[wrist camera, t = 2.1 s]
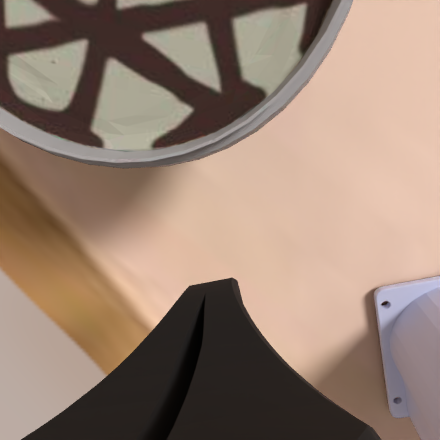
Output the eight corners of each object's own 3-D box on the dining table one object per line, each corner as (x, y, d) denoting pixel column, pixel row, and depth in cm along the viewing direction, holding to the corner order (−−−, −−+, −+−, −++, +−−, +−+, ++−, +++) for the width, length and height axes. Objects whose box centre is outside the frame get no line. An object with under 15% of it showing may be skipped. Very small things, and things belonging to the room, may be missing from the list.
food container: (34, 106, 19) (-158, 136, 10) (35, -36, 17) (-210, -169, 8) (277, 152, 20) (312, 224, 10) (308, 18, 17) (390, -48, 8)
